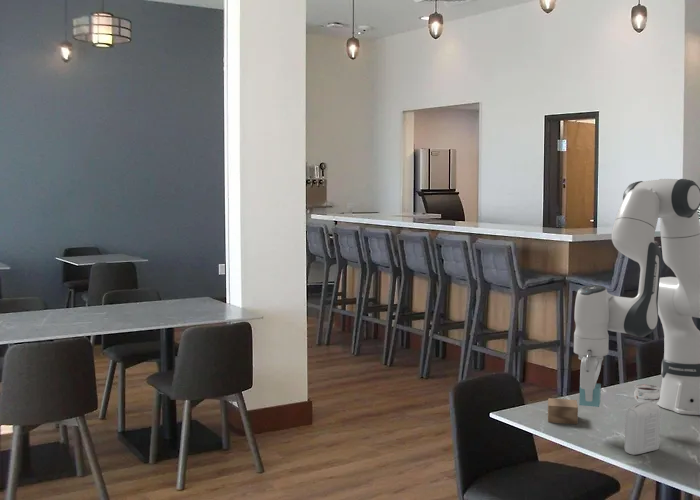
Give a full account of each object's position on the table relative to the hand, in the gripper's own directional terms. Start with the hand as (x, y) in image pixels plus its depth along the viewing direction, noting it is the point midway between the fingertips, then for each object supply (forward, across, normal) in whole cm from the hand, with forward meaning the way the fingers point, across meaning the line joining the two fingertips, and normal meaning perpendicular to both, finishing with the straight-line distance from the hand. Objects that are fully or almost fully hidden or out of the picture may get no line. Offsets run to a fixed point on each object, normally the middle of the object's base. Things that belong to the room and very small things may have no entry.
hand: (590, 397), depth 213 cm
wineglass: (+11, +10, -14) cm, 20 cm away
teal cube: (+2, 0, 0) cm, 2 cm away
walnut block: (+10, +12, +8) cm, 18 cm away
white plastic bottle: (+10, -8, -13) cm, 19 cm away
